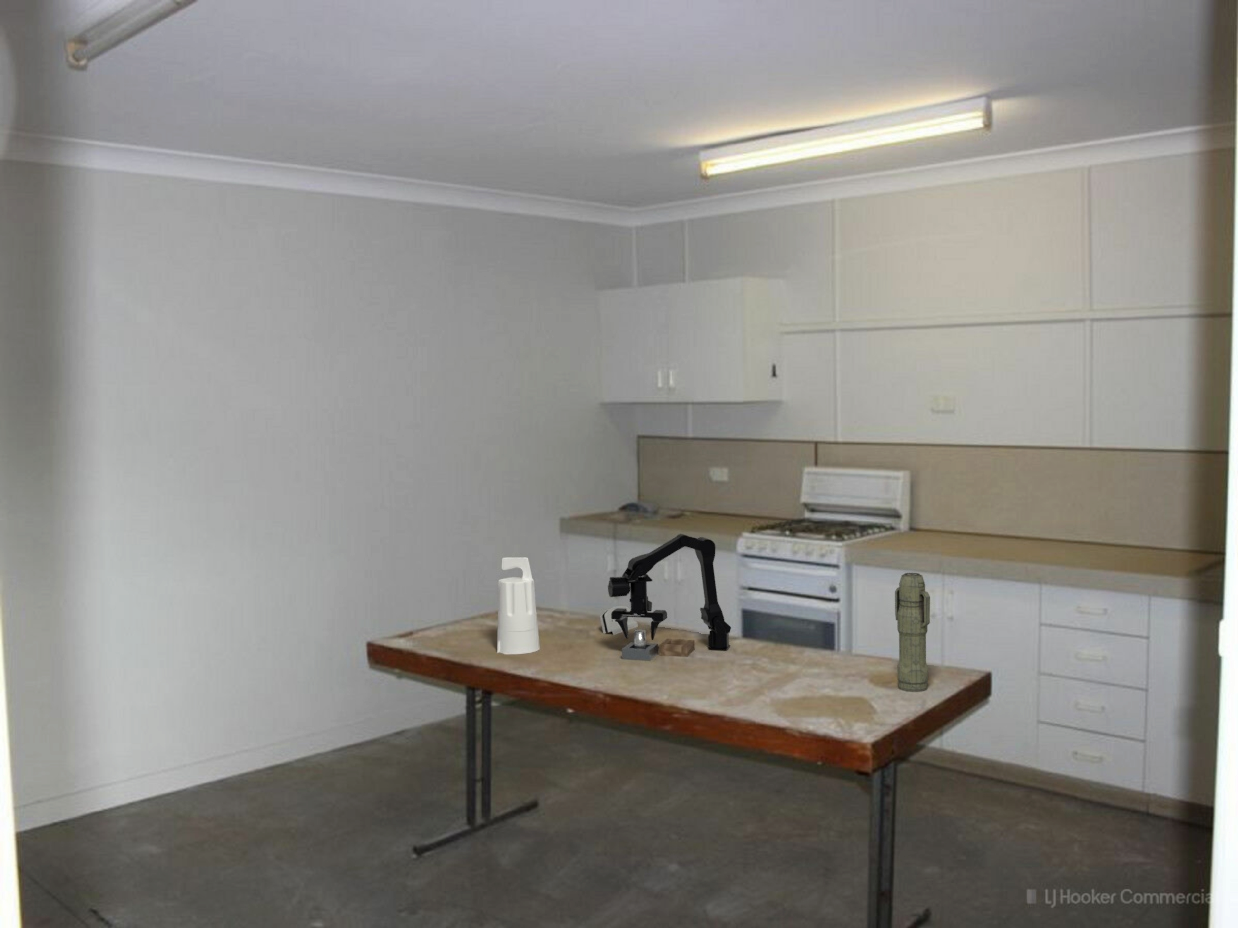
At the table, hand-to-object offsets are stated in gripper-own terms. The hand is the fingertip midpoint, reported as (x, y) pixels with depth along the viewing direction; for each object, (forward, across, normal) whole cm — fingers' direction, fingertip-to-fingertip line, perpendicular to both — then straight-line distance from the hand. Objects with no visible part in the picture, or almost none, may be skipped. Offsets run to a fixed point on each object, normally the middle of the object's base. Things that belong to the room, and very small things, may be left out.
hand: (639, 639), depth 388 cm
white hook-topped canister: (+6, +46, 0) cm, 46 cm away
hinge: (+6, +21, -37) cm, 43 cm away
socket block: (+6, -11, -8) cm, 15 cm away
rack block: (+6, 0, 0) cm, 6 cm away
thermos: (+6, -93, +18) cm, 95 cm away
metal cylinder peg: (+6, 0, 0) cm, 6 cm away
